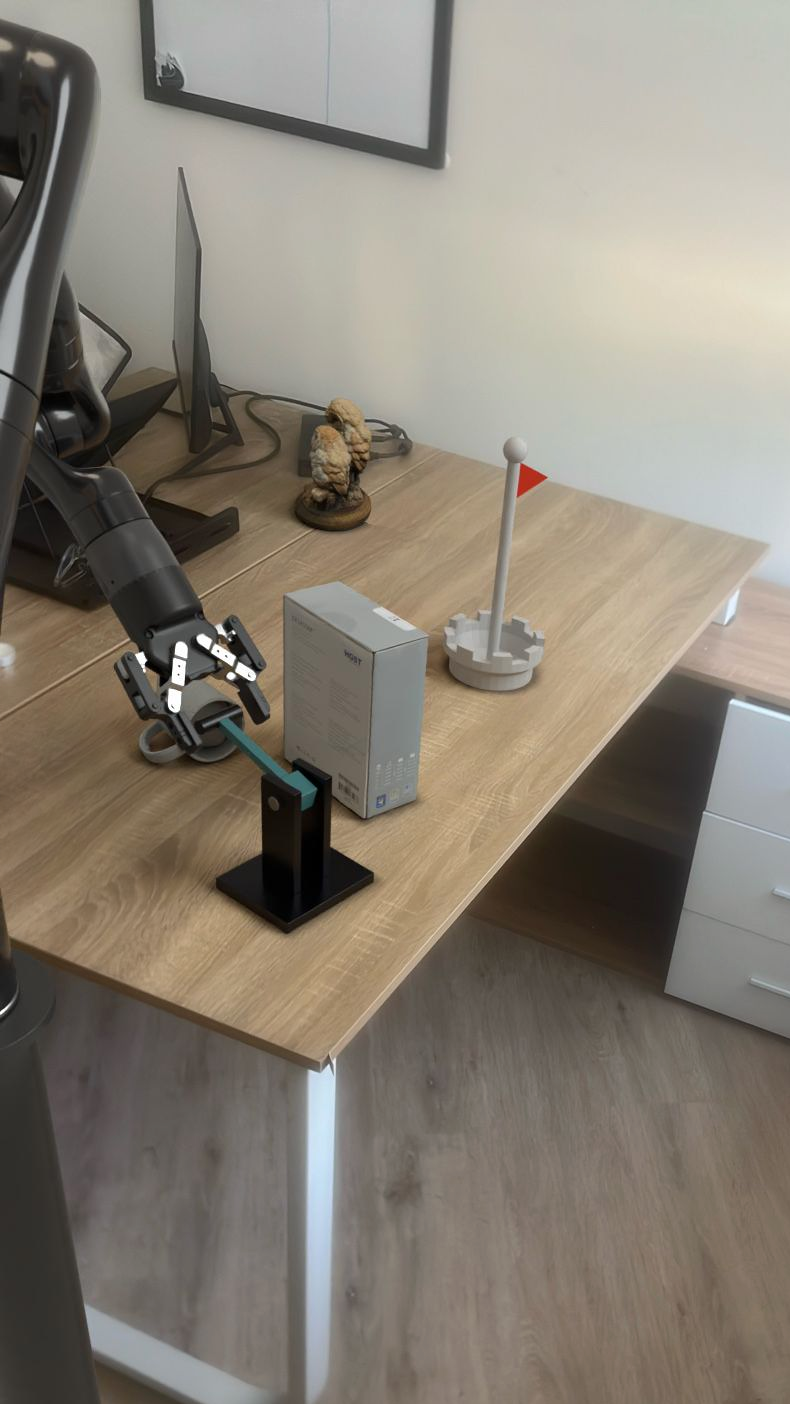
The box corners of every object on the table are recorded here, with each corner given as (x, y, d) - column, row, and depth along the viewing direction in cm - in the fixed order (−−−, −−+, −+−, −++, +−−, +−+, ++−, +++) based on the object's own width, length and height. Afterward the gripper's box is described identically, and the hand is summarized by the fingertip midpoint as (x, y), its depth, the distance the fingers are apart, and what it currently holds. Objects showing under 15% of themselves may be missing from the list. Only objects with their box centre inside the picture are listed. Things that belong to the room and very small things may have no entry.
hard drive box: (419, 801, 142) (432, 636, 129) (364, 822, 137) (372, 653, 124) (334, 739, 149) (339, 577, 136) (279, 757, 145) (279, 592, 132)
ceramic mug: (209, 720, 149) (206, 660, 144) (247, 752, 144) (244, 692, 139) (125, 745, 143) (118, 684, 138) (162, 779, 139) (156, 717, 134)
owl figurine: (304, 484, 208) (305, 374, 197) (376, 493, 209) (381, 385, 198) (287, 526, 194) (287, 411, 183) (364, 536, 195) (369, 422, 184)
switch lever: (191, 732, 122) (195, 714, 120) (231, 715, 125) (235, 697, 123) (284, 820, 119) (290, 802, 117) (322, 800, 122) (328, 783, 121)
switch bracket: (215, 887, 125) (210, 777, 117) (303, 839, 133) (304, 733, 125) (287, 933, 121) (287, 823, 113) (373, 882, 129) (379, 774, 121)
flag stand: (473, 701, 160) (499, 461, 141) (423, 655, 168) (440, 422, 149) (558, 684, 167) (594, 453, 147) (506, 641, 174) (533, 415, 155)
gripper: (96, 584, 112) (190, 748, 115) (219, 546, 122) (304, 698, 124) (64, 618, 118) (155, 774, 120) (185, 579, 127) (266, 725, 130)
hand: (231, 735), depth 122 cm, fingers open, 8 cm apart
